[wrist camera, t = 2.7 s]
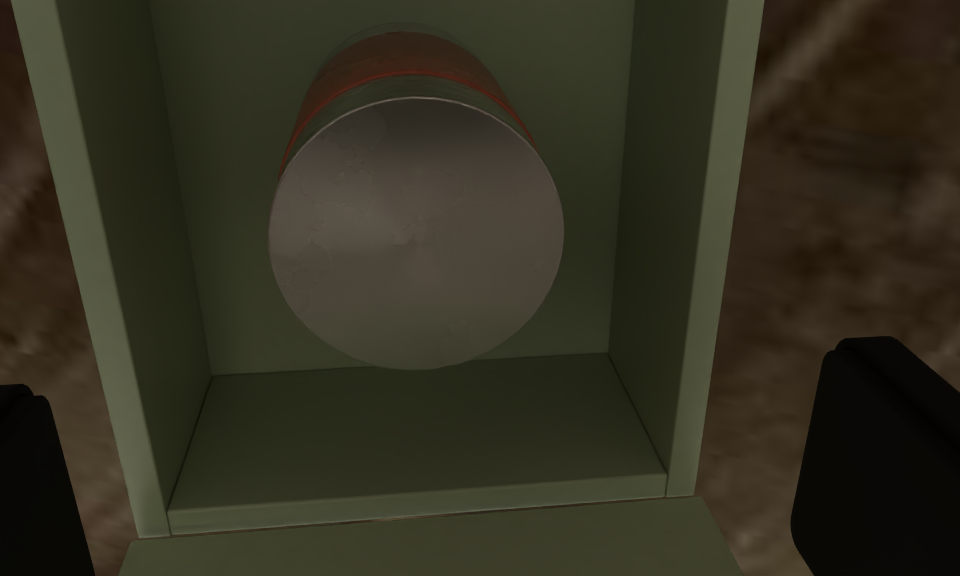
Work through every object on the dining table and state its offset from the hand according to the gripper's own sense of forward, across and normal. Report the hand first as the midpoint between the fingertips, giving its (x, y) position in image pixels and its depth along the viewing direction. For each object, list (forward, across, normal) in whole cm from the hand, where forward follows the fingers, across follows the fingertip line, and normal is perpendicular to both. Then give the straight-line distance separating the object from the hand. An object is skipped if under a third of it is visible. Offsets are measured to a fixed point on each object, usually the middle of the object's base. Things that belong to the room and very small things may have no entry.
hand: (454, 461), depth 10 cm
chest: (+16, 0, 0) cm, 16 cm away
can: (+15, 0, 0) cm, 15 cm away
